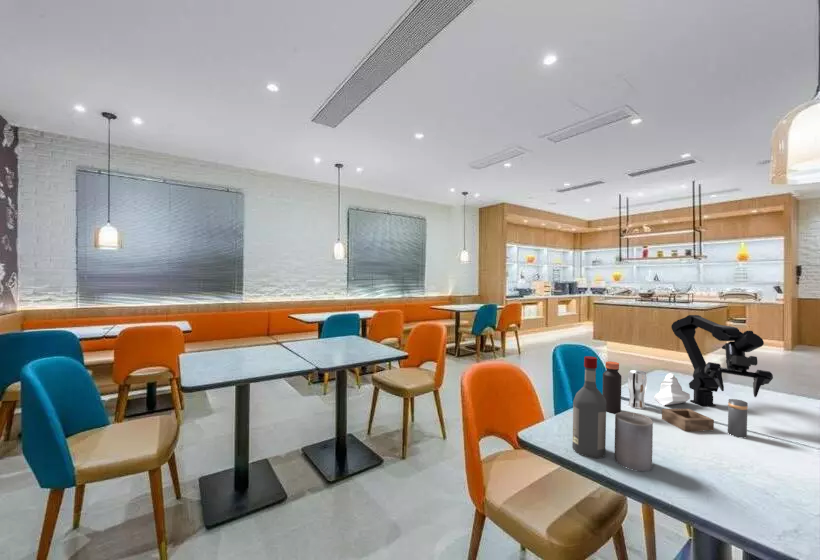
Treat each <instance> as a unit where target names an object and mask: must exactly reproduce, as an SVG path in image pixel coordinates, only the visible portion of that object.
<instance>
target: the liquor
mask: <svg viewBox="0 0 820 560" xmlns="http://www.w3.org/2000/svg"><path fill="white" fill-rule="evenodd" d="M583 359H584V360H583V361H584V362H583V367H584V383H583V386H582V387H581V388H580V389H579V390H578V391H576V393H575V396H574V398H573V403H572V443H571V444H572V449H573V451H574V450H575V451H576V452H575V451H574V452H575V453H577V454H578V453H579V454H578V455H580V454H583V455H582V456H585V455H586V456H585V457H588V458H589V457H590V458H593V459H601V458H602V459H603V458H604V457H605V456H606V445H607V444H606V440H607V439H606V436H607V434H606V433H607V411H606V399H605V397H604V396H603V393H602V392H601V391H600V390H599V389H598V387H597V382H596V378H597V376H596V375H597V372H596V371H597V368H598V358H597V357H595V356H591V355H588V356H587V355H586V356H584V358H583Z"/></svg>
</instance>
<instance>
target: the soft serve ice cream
mask: <svg viewBox="0 0 820 560" xmlns="http://www.w3.org/2000/svg"><path fill="white" fill-rule="evenodd" d="M690 399H691V396H690V393H688V392H687V391H685V390H683V387H682V386H681V383H680V382H679V379H678V378H677V377H675V374H674V373H671V372H669V373H667V374H666V375H665V378H664V379H663V381H662V382H661V383H660V389H659V392H657V393H656V394H655V395H654V400H655V401H657V402H658V404H660V405H661V404H662V405H663V407H665V405H666V406H670V405H671V406H672V405H678V404H684V403H686V402H688V401H690ZM662 405H661V406H662Z"/></svg>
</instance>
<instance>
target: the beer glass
mask: <svg viewBox="0 0 820 560" xmlns="http://www.w3.org/2000/svg"><path fill="white" fill-rule="evenodd" d="M627 376H628V377H627V385H628V387H627V388H628V392H629V401H628V406H629V407H630V406H631V408H633V409H636V408H637V410H643V409H644V410H645V409H646V404H645V397H646V396H645V395H646V392H647V388H648V375H647V372H646V371H643V370H638V369H630V370H629V369H628V375H627Z"/></svg>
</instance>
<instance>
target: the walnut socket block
mask: <svg viewBox="0 0 820 560" xmlns="http://www.w3.org/2000/svg"><path fill="white" fill-rule="evenodd" d="M661 420H663V421H665V422H667V423H669V424H670V425H673V426H675V428H678V429H680V430H682V431H684V432H704V431H703V430H714V427H715V426H714V424H715V420H714V419H713V418H711V417H708V416H706V415H703V414H701V413H699V412H697V411H695V410H693V409H691V408H662V409H661Z"/></svg>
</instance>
